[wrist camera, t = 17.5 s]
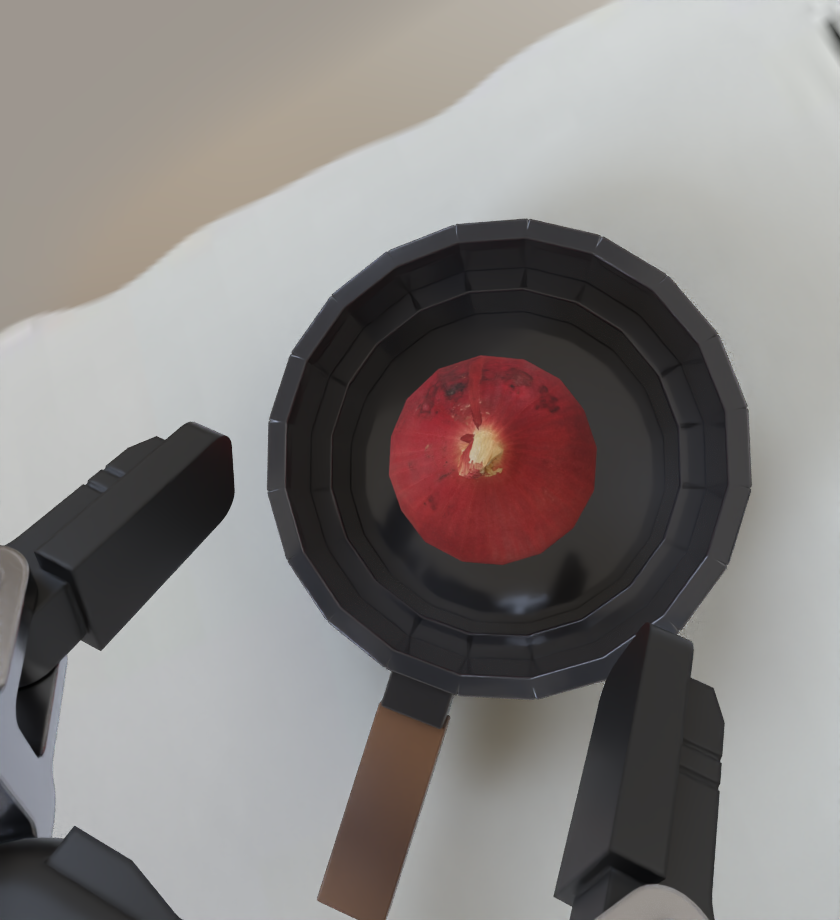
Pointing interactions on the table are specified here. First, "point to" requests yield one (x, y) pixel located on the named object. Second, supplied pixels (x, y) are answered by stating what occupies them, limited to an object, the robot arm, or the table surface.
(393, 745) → the pan handle
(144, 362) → the table surface
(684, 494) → the pan
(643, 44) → the table surface
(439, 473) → the onion
